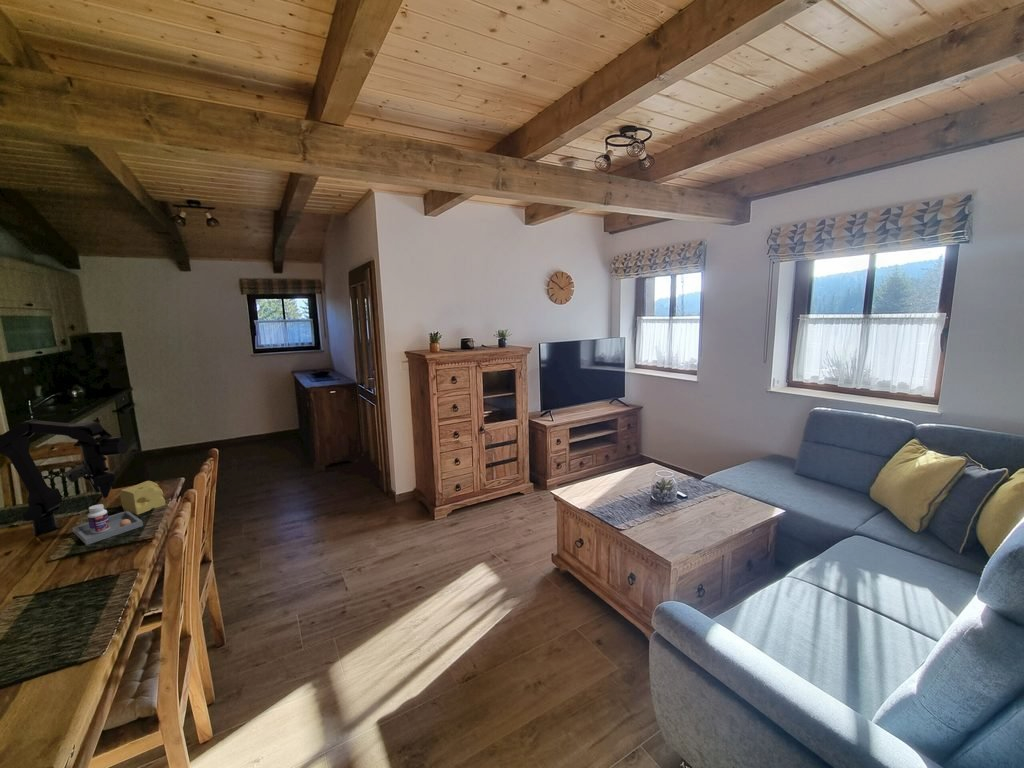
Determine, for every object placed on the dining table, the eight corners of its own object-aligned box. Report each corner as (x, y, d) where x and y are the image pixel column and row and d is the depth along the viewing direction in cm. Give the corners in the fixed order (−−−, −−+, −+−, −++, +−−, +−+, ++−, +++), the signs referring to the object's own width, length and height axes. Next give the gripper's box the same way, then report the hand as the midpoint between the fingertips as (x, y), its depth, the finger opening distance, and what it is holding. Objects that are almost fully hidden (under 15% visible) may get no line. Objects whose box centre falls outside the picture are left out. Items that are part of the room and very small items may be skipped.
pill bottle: (98, 534, 159) (93, 510, 157) (86, 533, 160) (81, 509, 158) (114, 527, 164) (109, 503, 162) (102, 526, 165) (98, 502, 164)
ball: (119, 528, 164) (117, 520, 163) (129, 524, 166) (128, 516, 166) (122, 530, 162) (120, 522, 161) (132, 526, 165) (131, 518, 164)
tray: (73, 534, 161) (72, 527, 161) (128, 516, 174) (127, 510, 174) (86, 546, 152) (85, 539, 152) (143, 527, 165) (142, 520, 165)
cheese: (166, 505, 183) (162, 483, 182) (135, 517, 174) (131, 493, 172) (152, 501, 188) (148, 479, 186) (122, 512, 178) (117, 489, 176)
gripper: (57, 458, 161) (65, 497, 164) (71, 467, 151) (79, 509, 153) (97, 449, 170) (104, 486, 173) (112, 458, 160) (120, 497, 163)
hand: (101, 495), depth 165 cm, fingers open, 9 cm apart
